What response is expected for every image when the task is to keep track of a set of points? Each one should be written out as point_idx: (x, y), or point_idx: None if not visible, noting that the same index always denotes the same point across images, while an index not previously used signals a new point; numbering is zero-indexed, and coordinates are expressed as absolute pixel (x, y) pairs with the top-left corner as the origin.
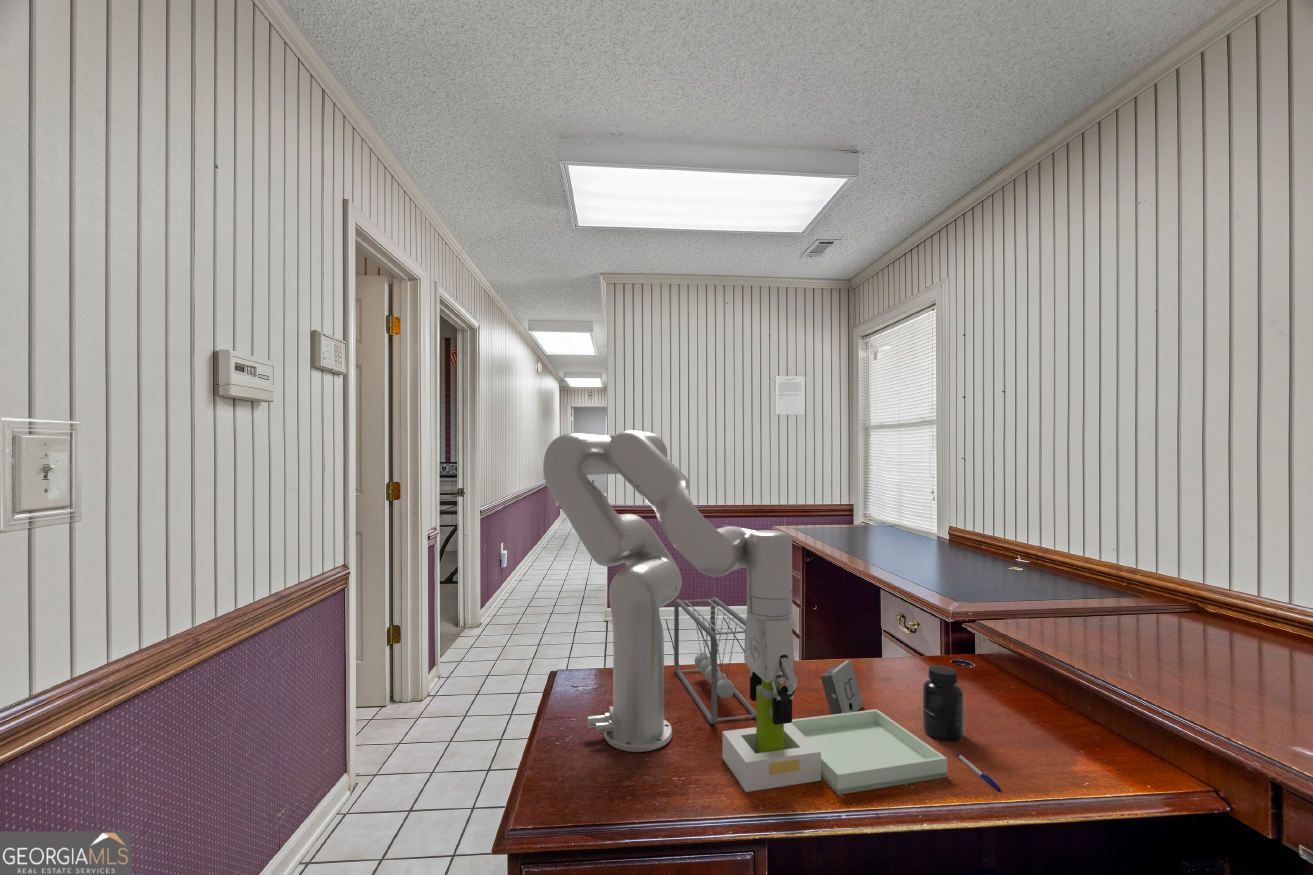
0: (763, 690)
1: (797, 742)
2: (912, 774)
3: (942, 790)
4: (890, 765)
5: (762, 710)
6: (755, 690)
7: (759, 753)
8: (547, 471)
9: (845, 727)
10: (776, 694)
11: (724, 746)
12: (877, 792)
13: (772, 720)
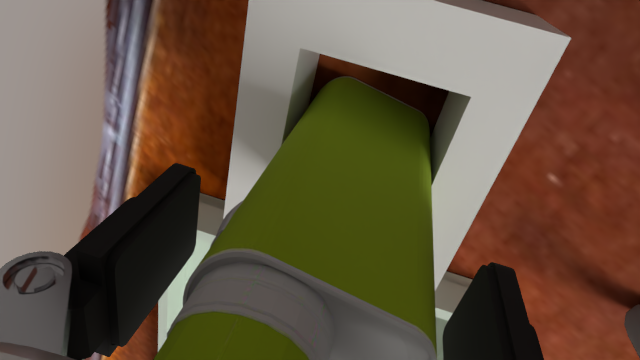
0: (239, 299)
1: None
2: None
3: (145, 343)
4: (163, 332)
5: (277, 193)
6: (481, 327)
7: (294, 65)
8: None
9: None
10: (35, 288)
11: (525, 18)
12: None
13: (187, 170)
